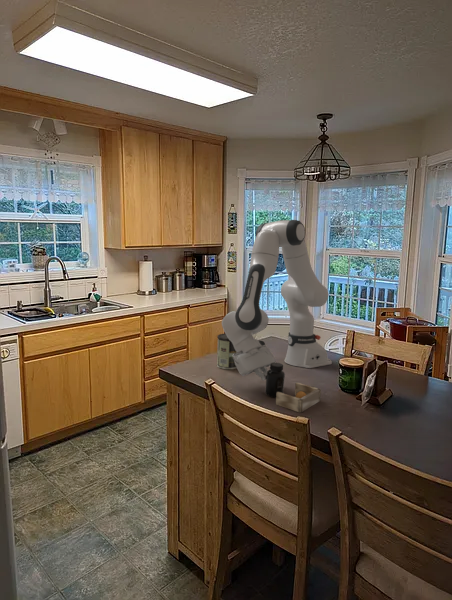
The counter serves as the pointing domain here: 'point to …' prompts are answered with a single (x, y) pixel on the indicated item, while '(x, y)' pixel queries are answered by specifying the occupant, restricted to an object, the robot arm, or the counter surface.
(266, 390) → the supplement bottle
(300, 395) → the ball
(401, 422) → the counter surface
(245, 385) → the counter surface
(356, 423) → the counter surface
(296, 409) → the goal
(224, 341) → the coffee can
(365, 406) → the counter surface
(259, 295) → the robot arm
